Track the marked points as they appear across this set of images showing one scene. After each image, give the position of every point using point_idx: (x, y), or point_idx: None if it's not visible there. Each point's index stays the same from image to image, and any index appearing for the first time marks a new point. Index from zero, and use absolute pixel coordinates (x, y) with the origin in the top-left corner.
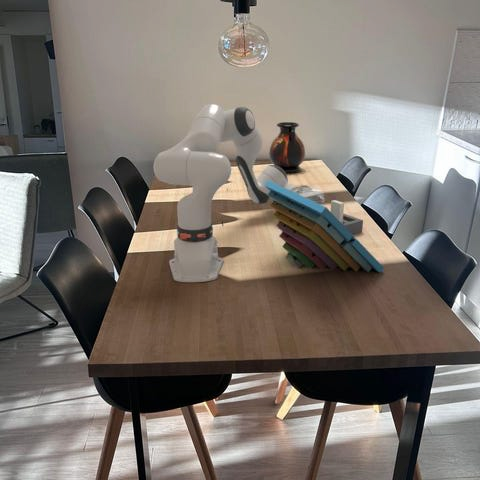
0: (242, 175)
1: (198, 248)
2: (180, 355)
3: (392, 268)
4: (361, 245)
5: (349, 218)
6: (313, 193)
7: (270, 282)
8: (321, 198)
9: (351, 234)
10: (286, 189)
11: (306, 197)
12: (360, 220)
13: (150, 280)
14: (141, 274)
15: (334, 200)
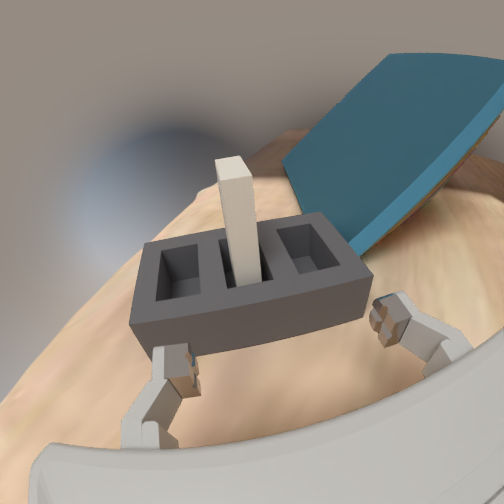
0: None
1: None
2: (483, 158)
3: (260, 170)
4: (328, 113)
5: (159, 275)
6: (169, 491)
7: (451, 182)
8: (177, 357)
9: (347, 94)
10: (456, 55)
11: (349, 412)
12: (153, 243)
13: None
14: None
15: (227, 177)
